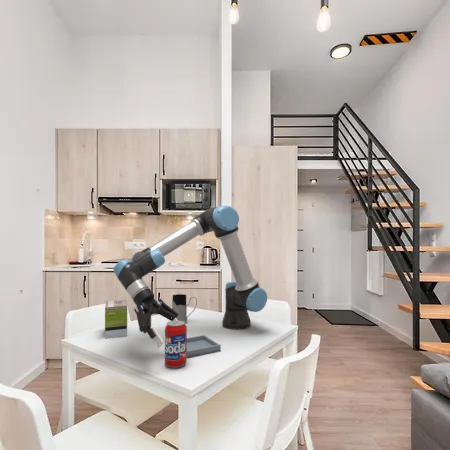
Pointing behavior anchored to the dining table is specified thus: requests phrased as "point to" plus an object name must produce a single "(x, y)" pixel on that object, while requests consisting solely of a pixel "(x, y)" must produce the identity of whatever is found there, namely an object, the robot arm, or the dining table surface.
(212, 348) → the tray
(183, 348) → the soda can
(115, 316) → the tea box
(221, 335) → the dining table surface
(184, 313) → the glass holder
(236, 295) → the robot arm
